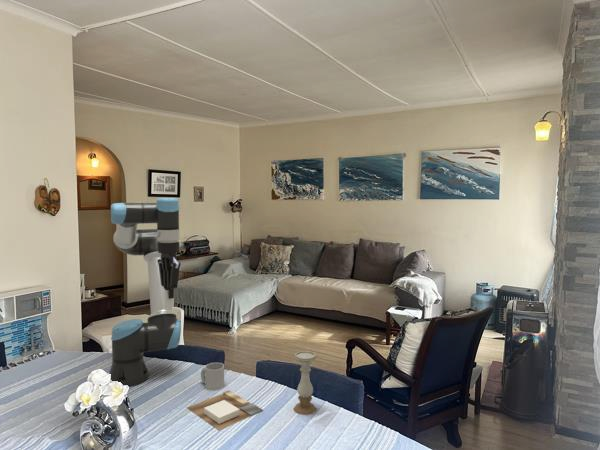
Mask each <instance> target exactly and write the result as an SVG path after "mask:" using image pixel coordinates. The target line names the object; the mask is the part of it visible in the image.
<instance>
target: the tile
mask: <svg viewBox="0 0 600 450" xmlns="http://www.w3.org/2000/svg"><path fill="white" fill-rule="evenodd" d="M204 414H205V415H207V416H208V417H210V418H211V419H213V420H214V421H216V422H217V423H218V424H220V423H223V422H225V421H227V420H229V419H232V418H234V417H236V416H239V415H240V409H238V408H237V407H235V406H233V405H232V404H230V403H228V402H227V401H225V400H223V401H220V402H217V403H215V404H212V405H210V406H207V407H205V408H204Z"/></svg>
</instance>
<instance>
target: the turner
mask: <svg viewBox="0 0 600 450" xmlns="http://www.w3.org/2000/svg"><path fill="white" fill-rule="evenodd" d="M222 394H223V397H225V398H227V399H228V400H230V401H232V402H233V403H235V404H237V405H238V406H240V407H241V408H240V410H241V411H243V412H245V413H246V414H248V415H249V416H251V417H253V416H255V415H257V414H260V413H262V412H264V411H263V408H261V407H260V406H257V405H256V404H254V403H252V402H250V401H249V400H247V399H245V398H243V397H241V396H240V395H238V394H237V393H234V392H233V391H231V390H229V389H228V390H225V391H223V392H222ZM249 402H250V403H251V404H249ZM261 411H262V412H261ZM259 412H260V413H259Z"/></svg>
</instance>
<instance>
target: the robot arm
mask: <svg viewBox="0 0 600 450" xmlns="http://www.w3.org/2000/svg"><path fill="white" fill-rule="evenodd" d="M110 221H111V224H112V225H113V224H114V225H116V228H115V229H116V230H115V231H114V234H113V239H112V240H113V245H114V246H115V247H116V249H118V250H119V251H120V252H122V253H125V254H127V255H130V256H135V257H137V256H143V260H144V261H146V262H147V273H148V275H147V276H148V287H149V303H150V305H149V306H150V315H149V316H148V317H147V322H144V321H143V320H142V319H139V318H132V319H127V320H124V321H121V322H118V323H116V324H115V325H114V326H113V327H112V329H111V337H110V339H111V357H112V358H111V361H112V362H111V366H110V369H109V372H108V375H109V374H111V380H112V381H118V382H121V383H122V384H123V385H128V387H132V386H133V387H134V386H136V385H137V386H138V385H139V384H142V383H144V382H145V381H147V379H148V378H149V370H148V367H147V364H146V361H145V359H144V353H147V352H156V351H162V350H163V351H164V350H171V349H175V348H177V347H179V345H180V342H181V334H182V333H181V332H182V320H181V319H180V318H177V314H176V313H175V312H173V308H174V307H175V297H174V296H175V295H174V294H175V293H174V291H175V289H178V284H179V277H180V268H181V264H182V263H181V262H179V261H178V260H177V253H179V252H180V242H179V241H180V203H179V199H178V198H177V197H158V198H157V200H156V202H116V203H112V204H111V205H110ZM138 224H142V225H143V224H156V226H157V227H156V228H151V229H150V228H145V229H144V228H143V229H138Z"/></svg>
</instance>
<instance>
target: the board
mask: <svg viewBox="0 0 600 450" xmlns="http://www.w3.org/2000/svg"><path fill="white" fill-rule="evenodd" d="M223 400H225V401H227V402H228V403H230V404H232V405H233V406H235V407H237V408H238V409H240V408H241V407H240V406H238V405H237V404H235V403H233V402H232V401H230V400H228V399H227V398H225V397H223V393H221V394H218V395H216V396H213V397H210V398H207V399H205V400H203V401H200V402H198V403H194V404H192V405H190V406H187V407H186V409H187V410H188V411H191V412H192V413H193V414H194V415H196V416H197V417H198V418H200V419H201V420H202V421H204V422H205V423H207V424H208V425H211V427H213V428H214V429H215V430H217V431H221V430H224V429H226V428H228V427H230V426H232V425H236V424H237V423H240V422H241V421H243V420H246V419H249V418H251V417H252V416H249V415H248V414H246V413H245V412H243V411H241V410H240V415H239V416H236V417H234V418H232V419H229V420H227V421H225V422H223V423H220V424H218V423H217V422H216V421H214V420H213V419H211V418H210V417H208V416H207V415H205V414H204V408H205V407H207V406H210V405H212V404H215V403H217V402H220V401H223ZM248 402H249V404H251V403H252V402H250V401H248ZM264 410H265V409H264ZM264 410H263V411H261V412H259V413H258V414H260V413H262V412H264Z"/></svg>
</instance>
